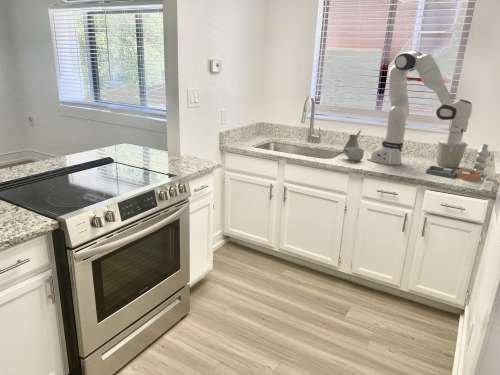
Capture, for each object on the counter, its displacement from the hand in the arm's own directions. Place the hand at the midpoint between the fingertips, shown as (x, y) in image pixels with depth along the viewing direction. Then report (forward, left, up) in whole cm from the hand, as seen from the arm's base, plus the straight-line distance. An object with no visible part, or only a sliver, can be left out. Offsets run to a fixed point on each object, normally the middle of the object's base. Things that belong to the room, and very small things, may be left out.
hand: (452, 150), depth 229 cm
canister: (-4, +25, -16) cm, 30 cm away
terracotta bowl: (+12, 0, -16) cm, 20 cm away
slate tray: (-3, 0, -16) cm, 16 cm away
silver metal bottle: (+15, +13, -16) cm, 26 cm away
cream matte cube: (0, 0, -15) cm, 15 cm away
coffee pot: (-68, +20, -16) cm, 72 cm away
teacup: (-59, -6, -16) cm, 61 cm away
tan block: (+10, 0, -15) cm, 18 cm away
